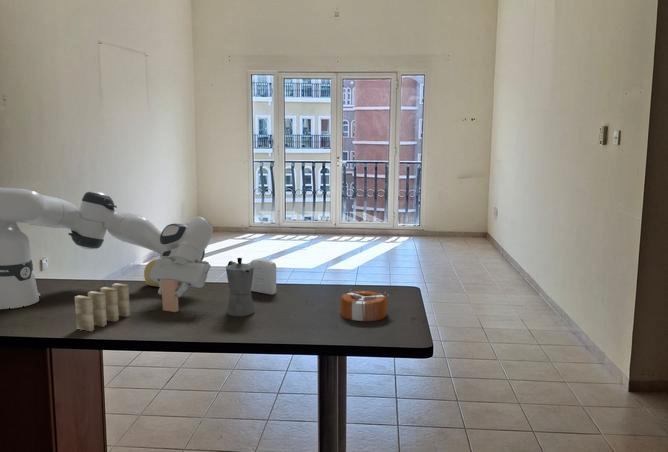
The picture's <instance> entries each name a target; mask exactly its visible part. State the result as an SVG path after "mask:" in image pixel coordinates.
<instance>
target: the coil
mask: <svg viewBox="0 0 668 452" xmlns="http://www.w3.org/2000/svg"><path fill="white" fill-rule="evenodd" d="M351 290H352V289H351V288H349V292H348V293H343V294H342V295H341V297H340V315H341V316H342V317H343V318H344V319H346V320H350V321H357V322H363V323H364V322H365V323H366V322H377V321H380V320H383V319H384V318H386V316H387V305H388V304H387V303H388V302H387V301H388V299H387V298H389V295H387V292H386V291H384V295H383V293H380V292H377V291H371V290H355V291H353V290H352V291H351ZM386 295H387V296H386Z"/></svg>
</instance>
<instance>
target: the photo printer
mask: <svg viewBox="0 0 668 452" xmlns="http://www.w3.org/2000/svg"><path fill="white" fill-rule="evenodd" d="M249 265H253V266H254V271H253V279H252V287H251V292H255V293H259V294H260V293H262V294H265V295H275V294H276V293H277V264H276V263H275V262H274V261H272V260H270V259H267V258H255V259H252V260H251V261H250V262H249Z"/></svg>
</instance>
